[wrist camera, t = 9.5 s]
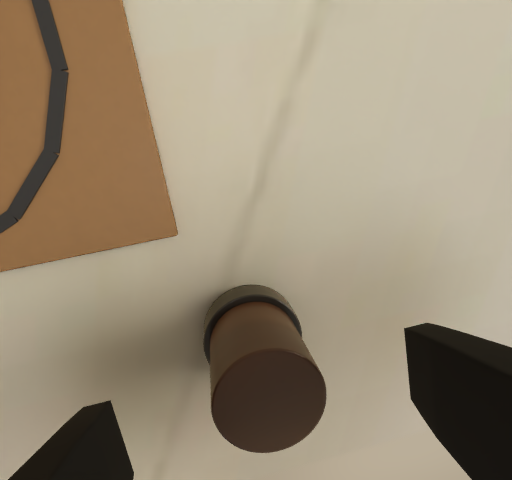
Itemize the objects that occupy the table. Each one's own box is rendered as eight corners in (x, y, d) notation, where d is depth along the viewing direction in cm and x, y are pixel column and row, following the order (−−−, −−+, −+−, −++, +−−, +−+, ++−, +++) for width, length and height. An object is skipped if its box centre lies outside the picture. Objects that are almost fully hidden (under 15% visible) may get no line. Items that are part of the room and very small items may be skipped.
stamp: (310, 340, 13) (356, 416, 9) (233, 385, 13) (245, 483, 9) (267, 267, 12) (297, 315, 8) (185, 315, 12) (175, 388, 8)
